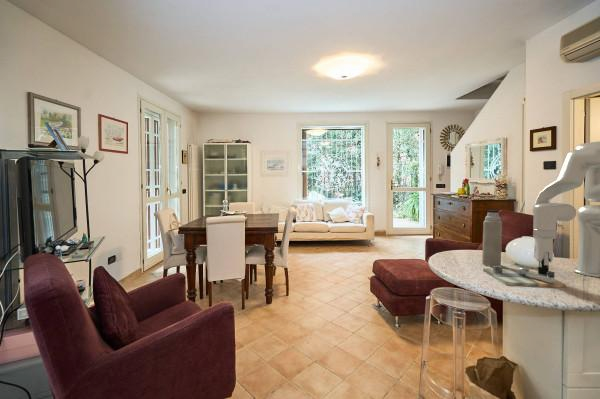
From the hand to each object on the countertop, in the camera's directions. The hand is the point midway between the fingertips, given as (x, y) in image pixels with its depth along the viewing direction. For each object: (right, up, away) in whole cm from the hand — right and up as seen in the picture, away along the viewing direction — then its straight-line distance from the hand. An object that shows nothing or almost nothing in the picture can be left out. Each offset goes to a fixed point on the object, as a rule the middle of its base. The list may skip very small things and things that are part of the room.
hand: (543, 276), depth 126 cm
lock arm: (-3, -1, 0) cm, 3 cm away
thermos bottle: (-5, -1, +26) cm, 27 cm away
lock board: (-6, -2, +4) cm, 8 cm away
